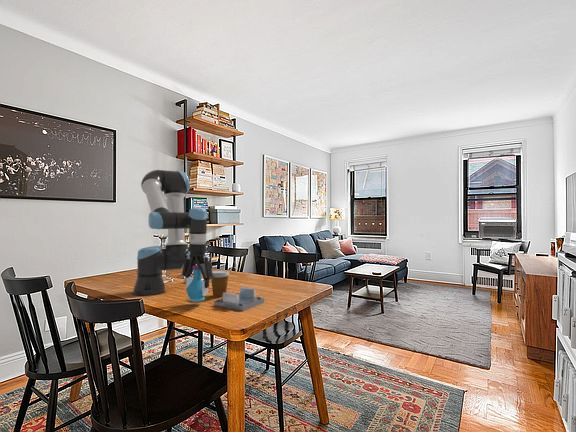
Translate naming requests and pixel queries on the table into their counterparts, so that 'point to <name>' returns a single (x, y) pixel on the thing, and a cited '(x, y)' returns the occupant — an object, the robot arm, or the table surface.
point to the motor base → (239, 300)
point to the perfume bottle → (195, 286)
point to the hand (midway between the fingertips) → (196, 293)
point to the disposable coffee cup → (219, 282)
